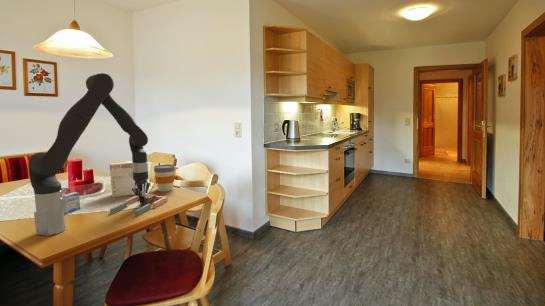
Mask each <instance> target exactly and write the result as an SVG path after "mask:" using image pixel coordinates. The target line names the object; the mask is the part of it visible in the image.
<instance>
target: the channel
mask: <svg viewBox="0 0 545 306" xmlns="http://www.w3.org/2000/svg"><path fill="white" fill-rule="evenodd" d="M128 206H129V205H128ZM128 206H127V202H124V201H123V202H122V203H119V204H117V205H116V206H112V207H111V208H110V209H109V214H110V215H114V214H115V213H116V214H117V213H118V212H120V211H122V210H124V209H127V208H128ZM126 207H127V208H126ZM151 209H152V204H147V205H146V204H144V205H143V206H141V207H139V208H137V209H135V210H134V216H136V217H139V216H140V215H142V214H144V213H146V212H147V211H149V210H151Z"/></svg>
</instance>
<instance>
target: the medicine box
mask: <svg viewBox="0 0 545 306" xmlns="http://www.w3.org/2000/svg"><path fill="white" fill-rule="evenodd" d="M62 198H63V208H64V214H70V213H74V212H76V211H78V210H80V209H81V199H80V192H78V191H77V192H75V191H73V192H70V193H69V192H68V193H66V194H62Z"/></svg>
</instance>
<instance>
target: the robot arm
mask: <svg viewBox="0 0 545 306" xmlns="http://www.w3.org/2000/svg"><path fill="white" fill-rule="evenodd" d="M114 86H115V82H114V79H113V77H112V76H111V75H110V74H108V73H97V74H92V75H89V77H87V79H86V80H85V87H86V89H87V92H86V93H85V94H84V95H83V96H82V97H81V98H80V99H79V100H77V102H76V103H74V104H73V105H72V106H71V107H70V108H69V109H68V111H67V112H66V113H65V114H64V116H63V118H62V119H61V121H60V122H59V125H58V129H57V134H56V138H55V140H54V141H53V144H51V146H50V147H49V149H48V150H47V151H46V152H43V151H42V152H36V153H34V154H32V155H31V156H30V158H29V160H28V166H27V167H28V168H27V169H28V175H29V180H30V181H29V182H30V186H31V187H32V189H33V195H34V201H35V212H34V213H33V218H34V224H35V233H36V235H37V236H47V237H49V236H52V235H56V234H59V233H62V232H64V231H65V230H66V219H65V213H64V208H63V198H62V195H63V190H62V188H63V187H62V184H61V182H60V181H59V179H57V176H56V175H58V174H59V173H60V172H61V171H62V169H63V168H64V166H65V164H66V162H67V160H68V158H69V156H70V154H71V152H72V150H73V148H74V147H75V145H76V144H77V142H79V141H78V140H79V139H80V137H81V136H82V134H83V133H84V132H85V131H86V128H87V127H88V126H89V124H90V122H91V121H92V119H93V118H94V115H96V113H97V111H98V109H99V108H100V106H101V105H102V106H103V107H104V108H105V109H106V110H107V111H108V113H110V115H111V116H112V117H113V119H114V120H115V122H116V123H117V124H118V125H119V127H120V129H121V130H122V131H123V132H124V133H126V134H128V136H129V138H128V145H129V149H130V152H131V154H132V155H131V157H132V158H131V159H132V160H131V161H132V162H133V164H132V171H133V180H134V181H135V187H134V188H132V191H133V192H134V193H135V195H134V196H139V200H138V202H139V204H140V203H144V202H145V195H146V194H148V192H149V188H150V186H151V183H150V182H148V180H149V165H148V155H147V151H146V150H145V149H144V147H145V146H146V145H147V144H148V142H149V138H148V135H147V134H146V132H145V131H144V130H143V129H142V128H141V127H140V126H139V124H137V122H135V120H134V118H133V117H132V115H131V114H130V112H128V111H127V109H126V108H125V107H123V106H122V105H121V104H120V103H119V102H117V101H116V99H115V98H113V96H112V95H111V93H112V91H113V89H114V88H115V87H114Z"/></svg>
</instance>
